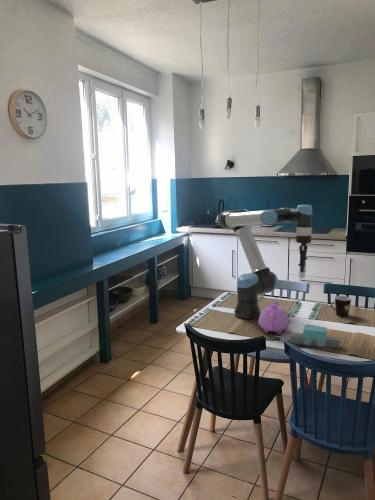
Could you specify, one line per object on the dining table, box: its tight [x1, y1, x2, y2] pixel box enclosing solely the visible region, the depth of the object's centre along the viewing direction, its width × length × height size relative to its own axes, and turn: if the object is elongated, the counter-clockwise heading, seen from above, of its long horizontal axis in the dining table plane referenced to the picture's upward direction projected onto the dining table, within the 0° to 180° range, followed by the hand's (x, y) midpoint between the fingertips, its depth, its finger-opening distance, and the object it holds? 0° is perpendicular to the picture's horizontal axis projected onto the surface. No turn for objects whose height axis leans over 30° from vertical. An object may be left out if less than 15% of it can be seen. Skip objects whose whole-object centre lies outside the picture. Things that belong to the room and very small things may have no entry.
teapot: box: [258, 298, 290, 335], centre depth 200 cm, size 22×16×14 cm
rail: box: [289, 332, 341, 350], centre depth 181 cm, size 22×4×4 cm, turn 71°
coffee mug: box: [330, 295, 352, 318], centre depth 218 cm, size 12×9×10 cm
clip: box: [302, 325, 327, 346], centre depth 180 cm, size 10×6×8 cm, turn 71°
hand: (302, 274), depth 204 cm, fingers open, 13 cm apart
